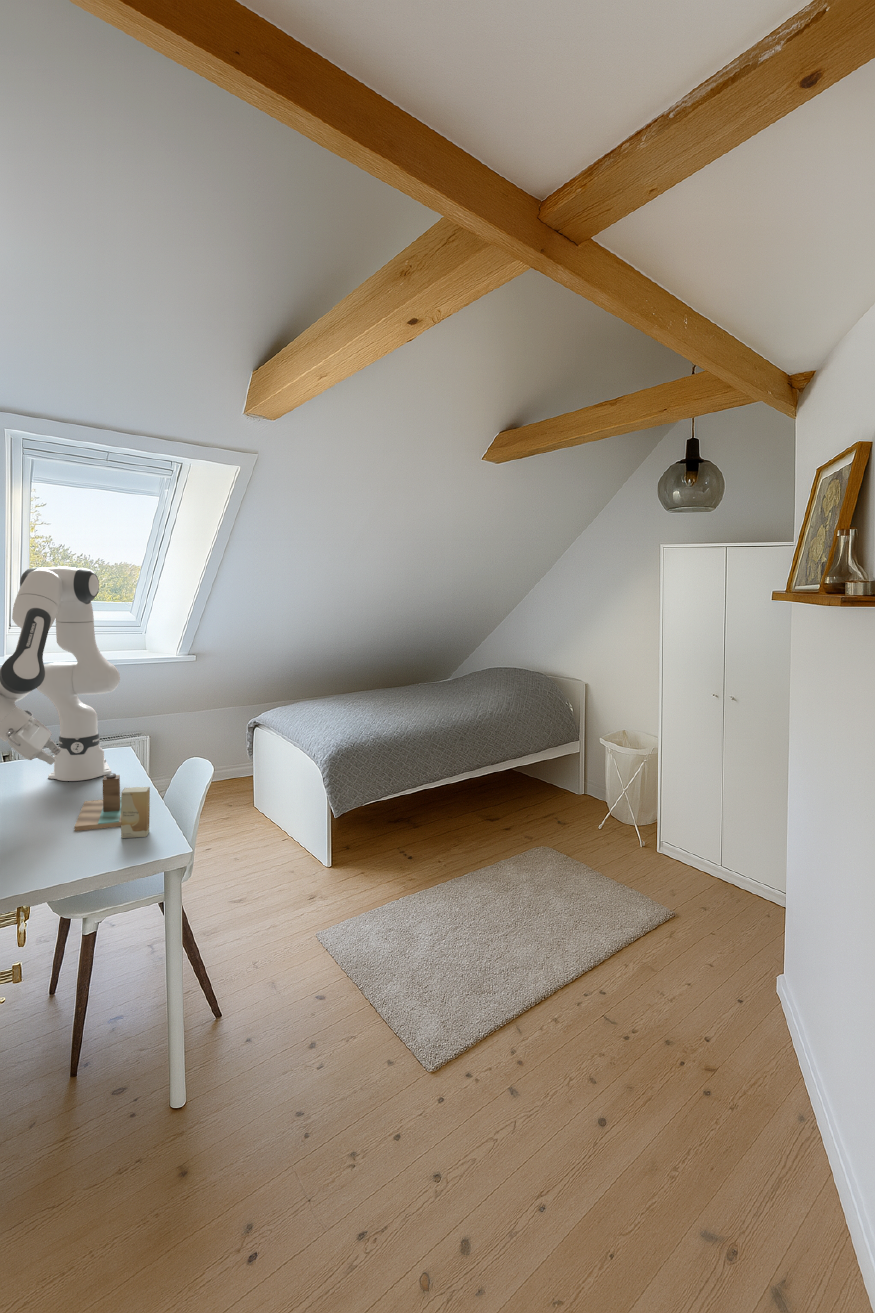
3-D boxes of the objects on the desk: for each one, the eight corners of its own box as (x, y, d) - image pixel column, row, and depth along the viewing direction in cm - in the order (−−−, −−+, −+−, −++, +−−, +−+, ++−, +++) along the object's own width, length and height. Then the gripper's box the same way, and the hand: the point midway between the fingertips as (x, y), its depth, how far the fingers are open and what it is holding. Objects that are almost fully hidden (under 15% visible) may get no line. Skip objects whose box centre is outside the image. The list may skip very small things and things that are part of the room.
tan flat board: (84, 805, 186) (84, 800, 186) (140, 800, 192) (140, 795, 191) (74, 831, 166) (74, 825, 165) (137, 824, 171) (137, 819, 171)
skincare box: (120, 839, 161) (119, 792, 160) (124, 832, 165) (123, 787, 164) (148, 837, 163) (147, 790, 162) (150, 831, 167) (150, 786, 166)
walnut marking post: (104, 807, 180) (103, 773, 179) (120, 806, 181) (119, 772, 180) (103, 812, 176) (102, 777, 175) (119, 810, 178) (118, 775, 177)
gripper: (13, 726, 162) (59, 759, 167) (29, 709, 181) (70, 739, 186) (-6, 744, 161) (40, 777, 166) (12, 725, 180) (53, 755, 185)
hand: (56, 757), depth 176 cm, fingers open, 8 cm apart
